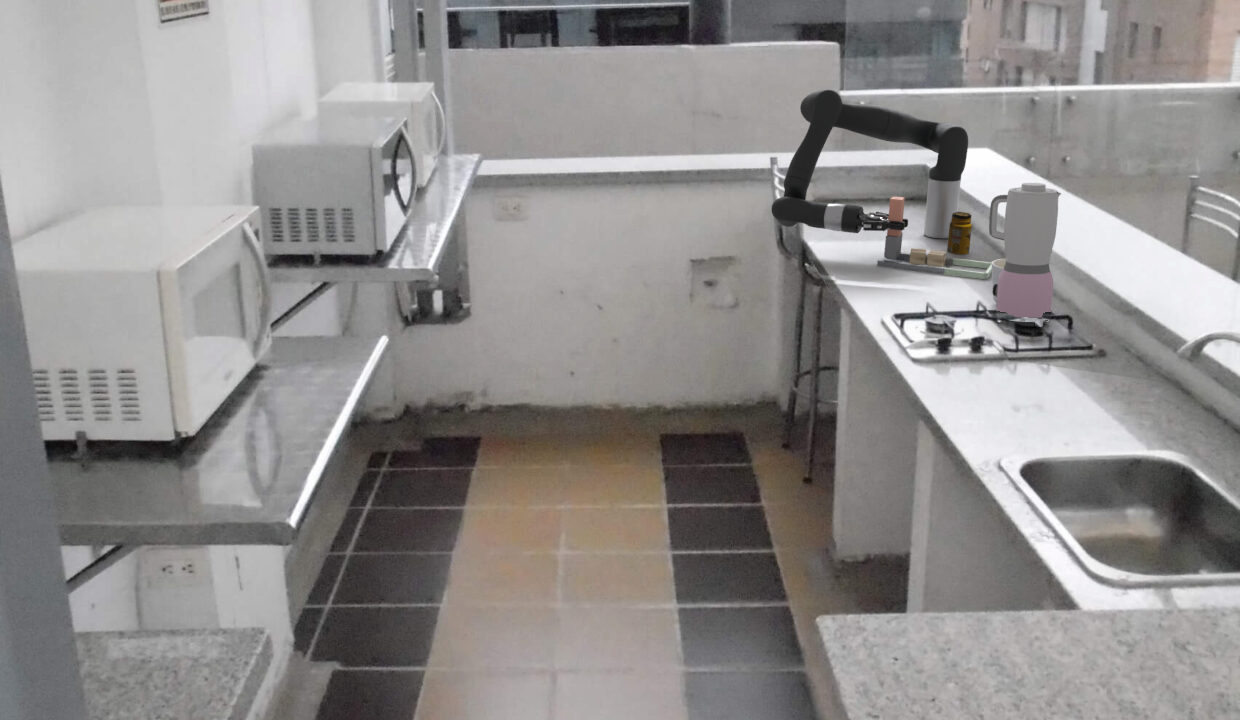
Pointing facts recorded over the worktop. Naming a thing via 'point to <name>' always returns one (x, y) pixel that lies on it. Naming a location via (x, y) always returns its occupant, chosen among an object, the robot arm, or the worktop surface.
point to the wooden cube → (918, 256)
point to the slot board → (904, 260)
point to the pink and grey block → (893, 236)
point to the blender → (1026, 249)
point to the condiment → (959, 233)
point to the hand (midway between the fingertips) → (905, 224)
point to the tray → (970, 273)
